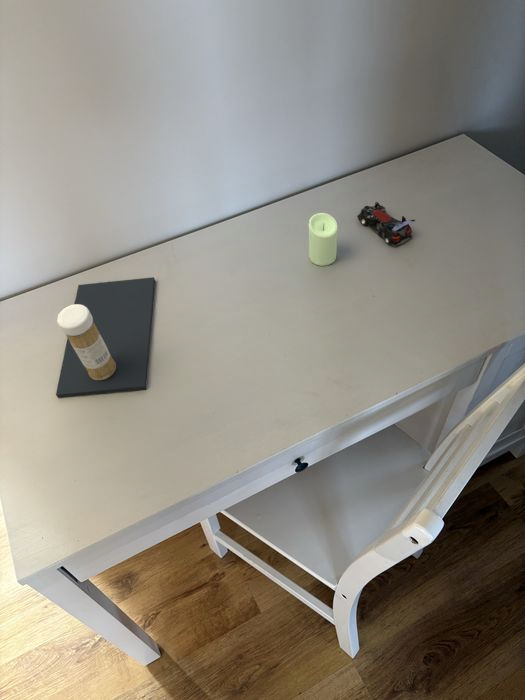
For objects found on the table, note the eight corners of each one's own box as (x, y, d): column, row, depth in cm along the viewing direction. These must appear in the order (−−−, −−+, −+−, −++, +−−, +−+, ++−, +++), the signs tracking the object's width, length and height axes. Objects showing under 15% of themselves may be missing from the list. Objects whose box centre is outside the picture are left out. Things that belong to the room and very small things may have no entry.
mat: (146, 389, 84) (144, 386, 83) (58, 398, 84) (55, 394, 83) (155, 280, 98) (154, 277, 98) (80, 288, 99) (78, 284, 98)
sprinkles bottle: (109, 354, 87) (80, 297, 77) (121, 371, 85) (94, 316, 74) (83, 368, 86) (51, 313, 75) (96, 387, 84) (63, 332, 73)
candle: (341, 259, 98) (343, 224, 92) (318, 269, 97) (318, 234, 90) (326, 244, 101) (327, 208, 94) (304, 254, 100) (303, 218, 93)
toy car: (391, 250, 98) (394, 233, 95) (349, 217, 105) (351, 200, 102) (416, 237, 100) (419, 219, 97) (373, 205, 107) (375, 188, 103)
